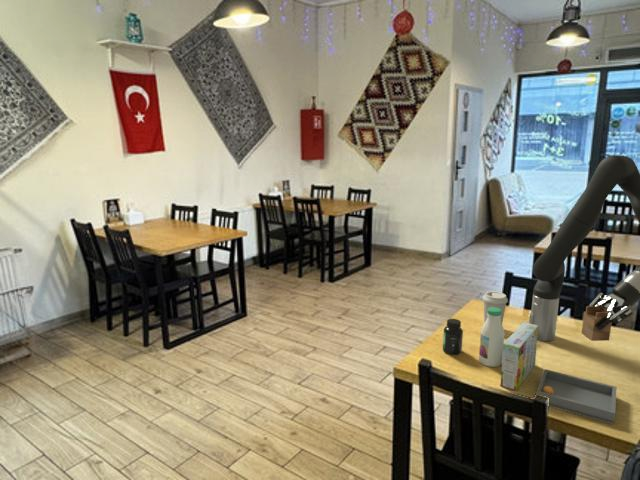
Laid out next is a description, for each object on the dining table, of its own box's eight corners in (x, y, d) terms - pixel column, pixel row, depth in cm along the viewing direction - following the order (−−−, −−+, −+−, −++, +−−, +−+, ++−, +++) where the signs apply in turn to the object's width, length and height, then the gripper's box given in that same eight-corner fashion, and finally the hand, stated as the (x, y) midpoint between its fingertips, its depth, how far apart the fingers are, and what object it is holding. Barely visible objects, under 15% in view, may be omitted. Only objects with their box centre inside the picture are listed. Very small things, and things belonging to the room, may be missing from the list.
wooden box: (598, 332, 151) (602, 305, 149) (609, 340, 146) (613, 312, 144) (581, 333, 151) (585, 306, 149) (591, 340, 146) (595, 312, 143)
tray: (535, 402, 138) (536, 391, 137) (543, 378, 151) (544, 369, 150) (613, 424, 128) (615, 413, 127) (614, 397, 140) (616, 386, 140)
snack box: (518, 360, 163) (522, 321, 160) (535, 365, 160) (540, 325, 156) (498, 385, 147) (502, 342, 144) (516, 391, 144) (521, 347, 140)
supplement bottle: (440, 353, 169) (442, 323, 166) (444, 345, 175) (446, 316, 172) (459, 356, 166) (462, 326, 163) (462, 348, 172) (464, 319, 169)
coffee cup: (484, 322, 195) (487, 289, 192) (507, 327, 190) (510, 293, 187) (477, 330, 188) (479, 295, 184) (501, 336, 182) (504, 300, 179)
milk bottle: (501, 358, 165) (506, 306, 160) (502, 369, 157) (507, 314, 153) (478, 355, 167) (482, 304, 162) (478, 365, 160) (482, 312, 155)
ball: (551, 397, 137) (544, 389, 138) (545, 398, 140) (538, 390, 141) (557, 391, 138) (550, 383, 139) (551, 392, 141) (544, 384, 142)
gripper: (611, 273, 151) (571, 308, 154) (642, 287, 137) (597, 325, 140) (624, 288, 153) (585, 322, 155) (656, 304, 139) (612, 341, 141)
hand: (591, 323), depth 147 cm, fingers closed on wooden box, 5 cm apart
